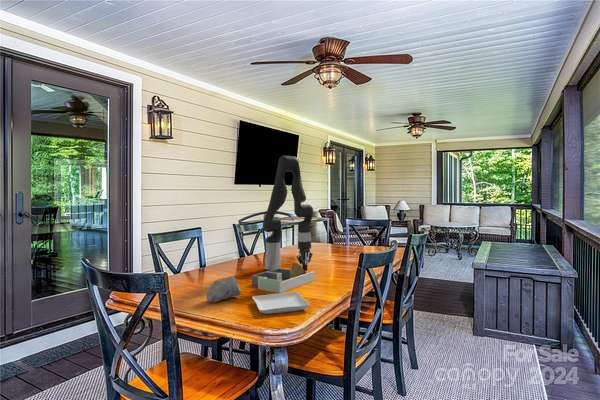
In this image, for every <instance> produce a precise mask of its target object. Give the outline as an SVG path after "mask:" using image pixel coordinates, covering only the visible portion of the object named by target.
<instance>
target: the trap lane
mask: <svg viewBox="0 0 600 400" xmlns="http://www.w3.org/2000/svg"><path fill="white" fill-rule="evenodd" d="M306 273H307V272H306ZM290 274H291V269H287V268H282V267H281V268H278V269H274V270H267V271H264V272H259V273H256V274H252V275H251V285H252V286H257V289H258V290H260V291H267V292H271V293H275V294H278V293H285V292H287V291H290V290H292V289H295V288H298V287H302V286H304V285H307V284H309V283H312V282H315V281H316V271H310V272H308V273H307V274H304V275H300V276H297V277H294V278H291V279H290Z"/></svg>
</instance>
